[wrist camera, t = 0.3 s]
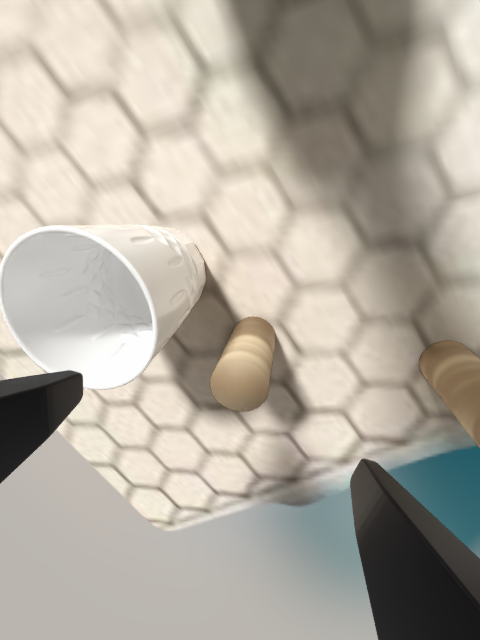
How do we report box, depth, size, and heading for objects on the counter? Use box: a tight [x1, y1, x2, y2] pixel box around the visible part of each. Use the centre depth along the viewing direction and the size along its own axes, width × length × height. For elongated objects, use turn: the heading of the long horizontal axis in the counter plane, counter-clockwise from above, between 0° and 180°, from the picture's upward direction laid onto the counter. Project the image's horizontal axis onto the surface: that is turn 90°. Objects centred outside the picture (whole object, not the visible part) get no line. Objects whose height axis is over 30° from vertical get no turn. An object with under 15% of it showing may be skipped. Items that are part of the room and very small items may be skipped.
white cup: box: [0, 224, 206, 390], centre depth 18 cm, size 8×8×10 cm
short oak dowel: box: [210, 317, 276, 412], centre depth 20 cm, size 3×3×7 cm
